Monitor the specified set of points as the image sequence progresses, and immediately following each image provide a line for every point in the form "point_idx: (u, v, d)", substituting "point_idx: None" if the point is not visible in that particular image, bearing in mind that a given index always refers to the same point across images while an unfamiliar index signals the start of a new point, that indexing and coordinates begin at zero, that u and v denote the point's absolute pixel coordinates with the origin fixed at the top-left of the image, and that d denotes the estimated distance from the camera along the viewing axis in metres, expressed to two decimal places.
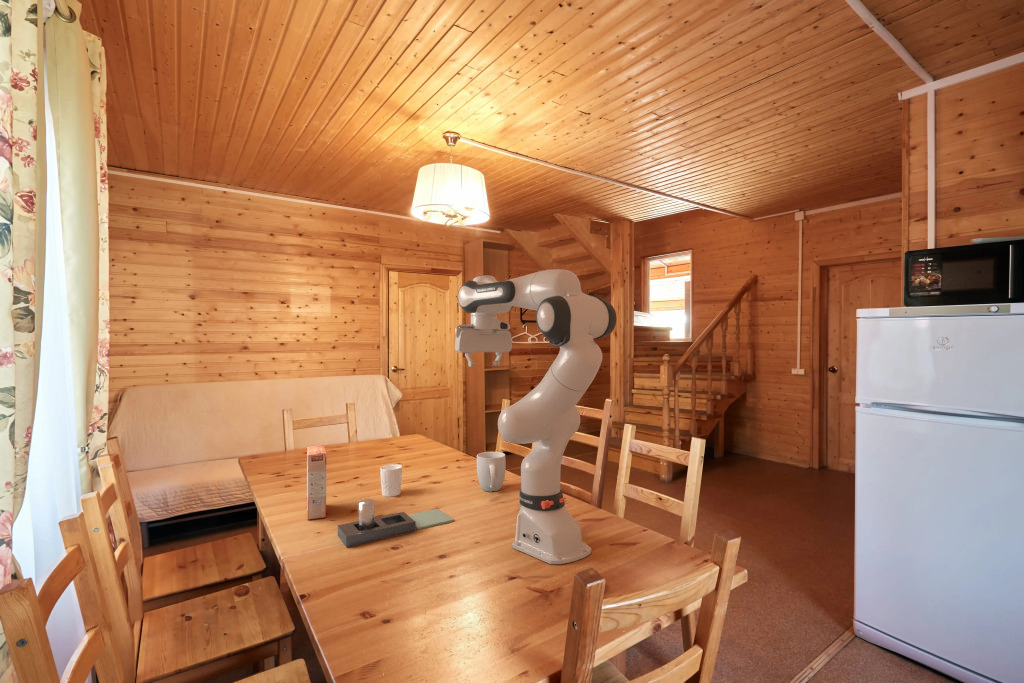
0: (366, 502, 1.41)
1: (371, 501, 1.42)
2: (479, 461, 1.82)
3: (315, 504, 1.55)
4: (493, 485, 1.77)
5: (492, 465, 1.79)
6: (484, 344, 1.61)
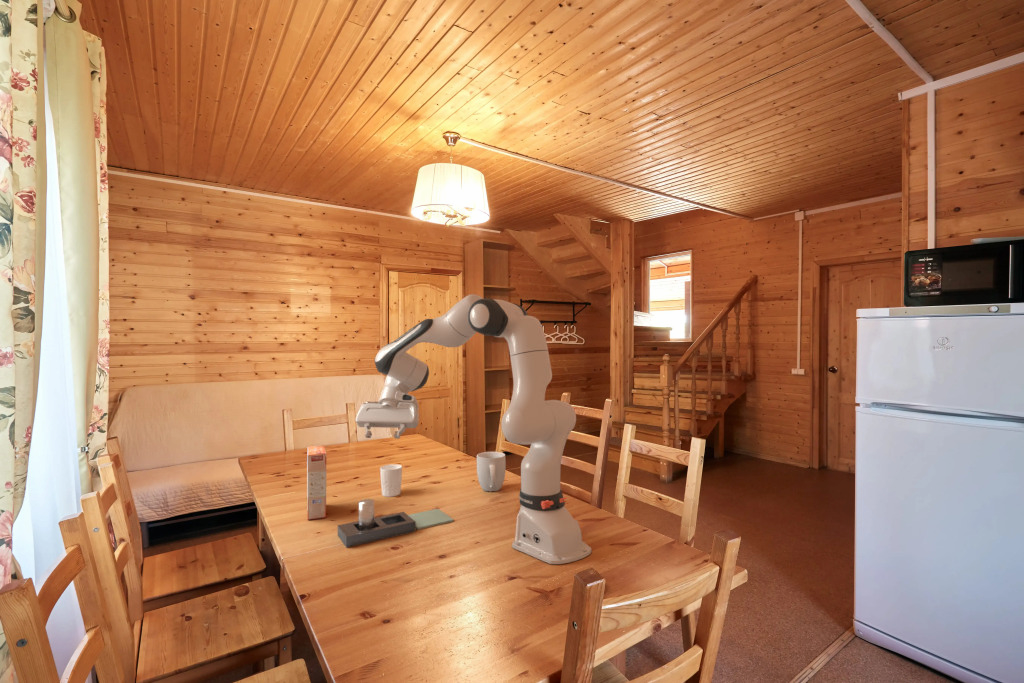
0: (366, 502, 1.41)
1: (371, 501, 1.42)
2: (479, 461, 1.82)
3: (315, 504, 1.55)
4: (493, 485, 1.77)
5: (492, 465, 1.79)
6: (383, 415, 1.58)
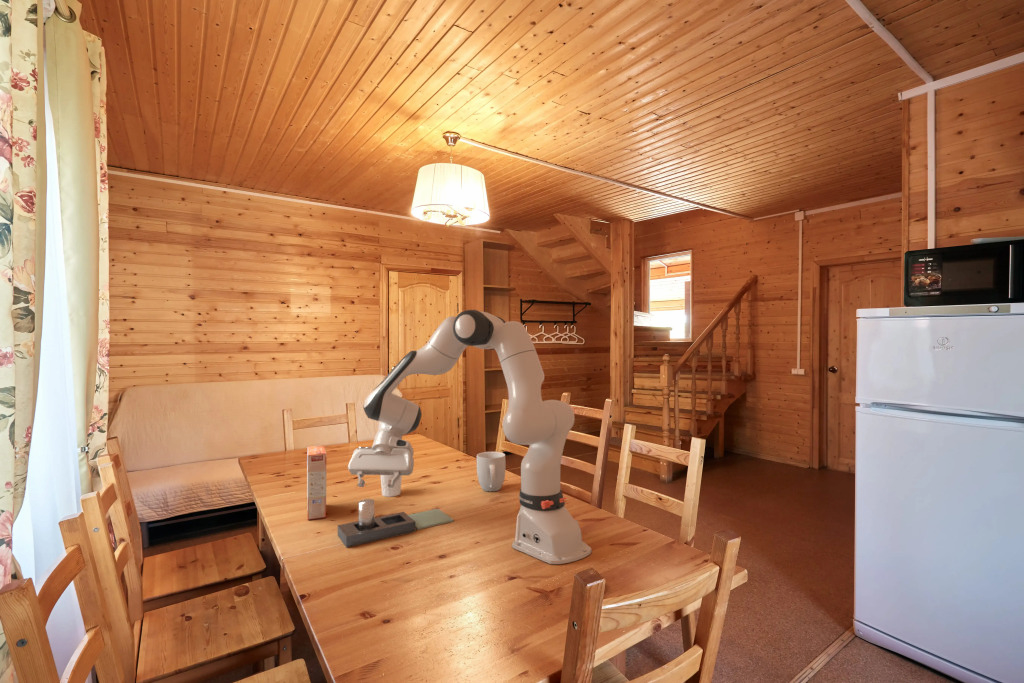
0: (366, 502, 1.41)
1: (371, 501, 1.42)
2: (479, 461, 1.82)
3: (315, 504, 1.55)
4: (493, 485, 1.77)
5: (492, 465, 1.79)
6: (377, 462, 1.53)
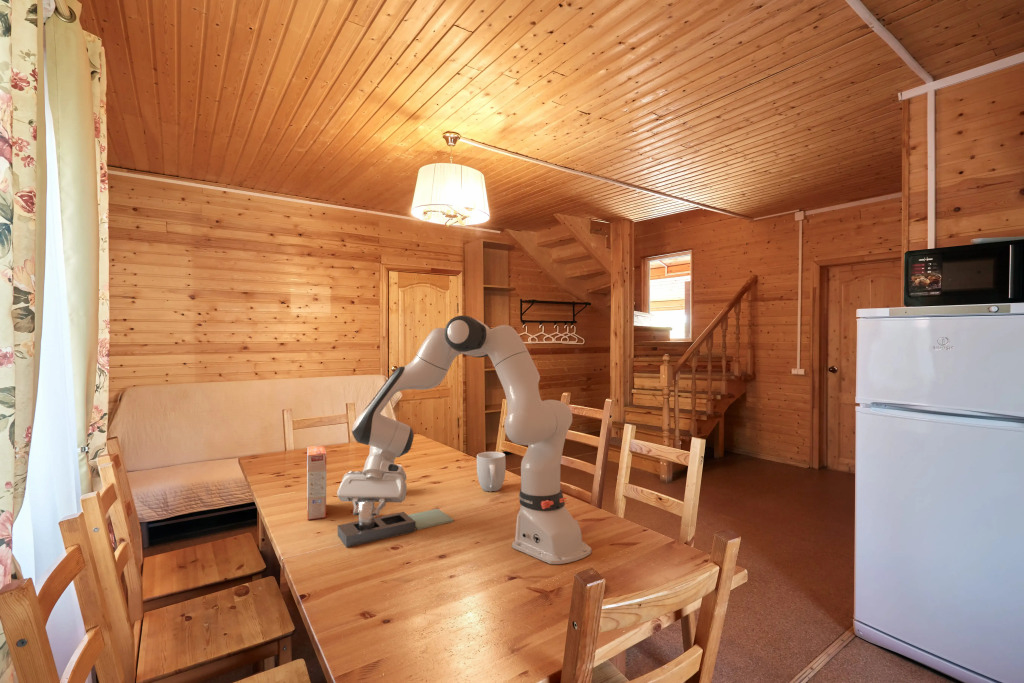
0: (366, 502, 1.41)
1: (371, 501, 1.42)
2: (479, 461, 1.82)
3: (315, 504, 1.55)
4: (493, 485, 1.77)
5: (492, 465, 1.79)
6: (367, 488, 1.45)
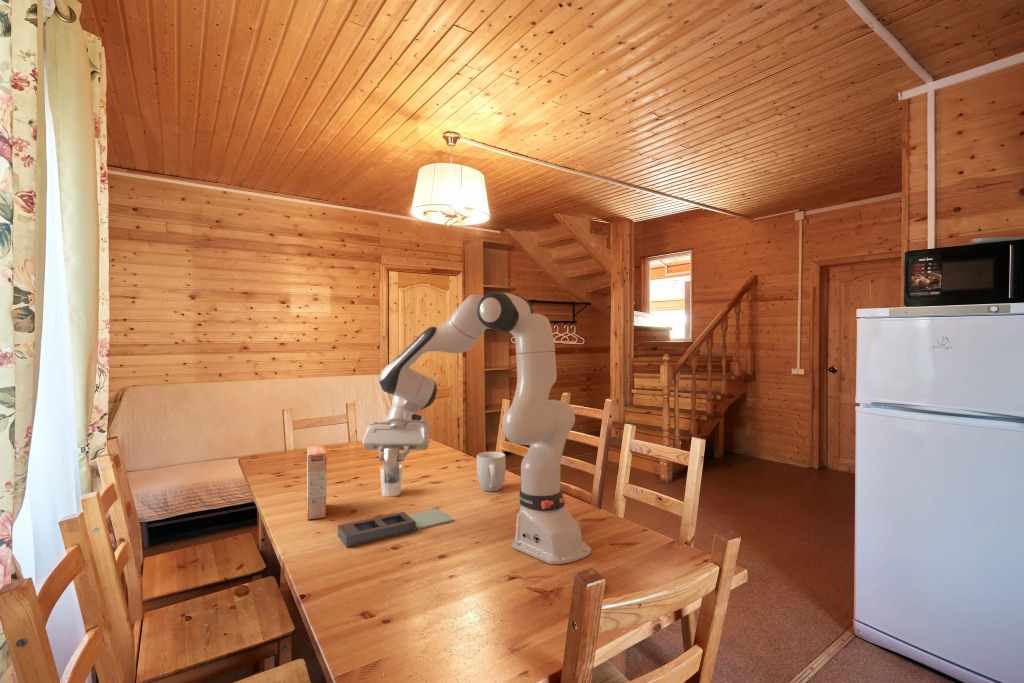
0: (392, 448, 1.45)
1: (396, 447, 1.46)
2: (479, 461, 1.82)
3: (315, 504, 1.55)
4: (493, 485, 1.77)
5: (492, 465, 1.79)
6: (392, 436, 1.50)
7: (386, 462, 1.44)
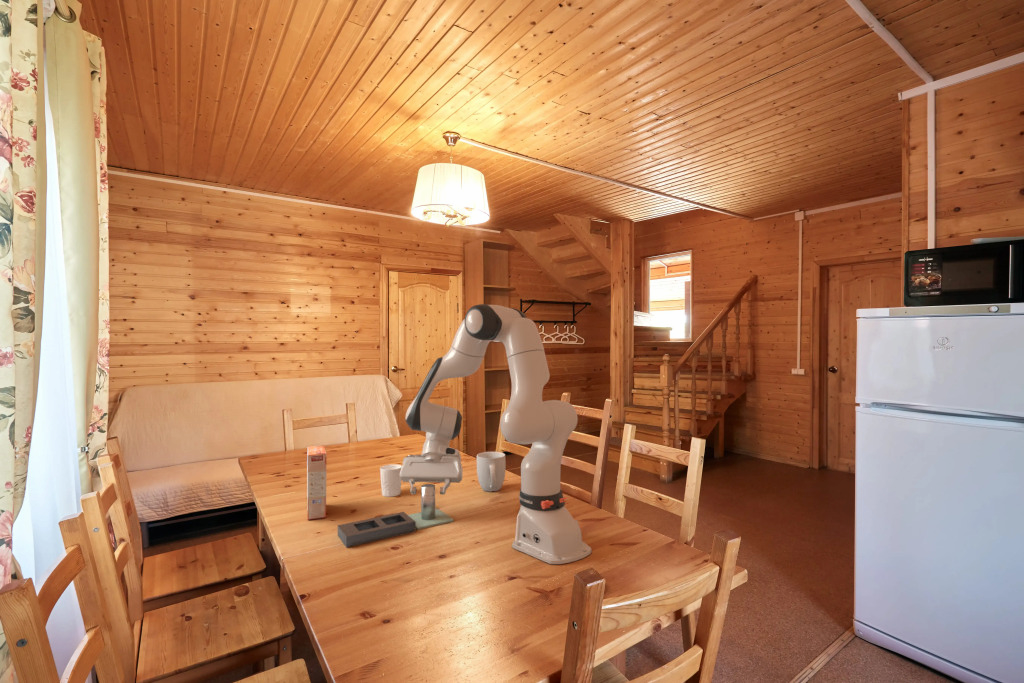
0: (428, 487, 1.53)
1: (432, 486, 1.54)
2: (479, 461, 1.82)
3: (315, 504, 1.55)
4: (493, 485, 1.77)
5: (492, 465, 1.79)
6: (428, 470, 1.58)
7: (423, 500, 1.52)
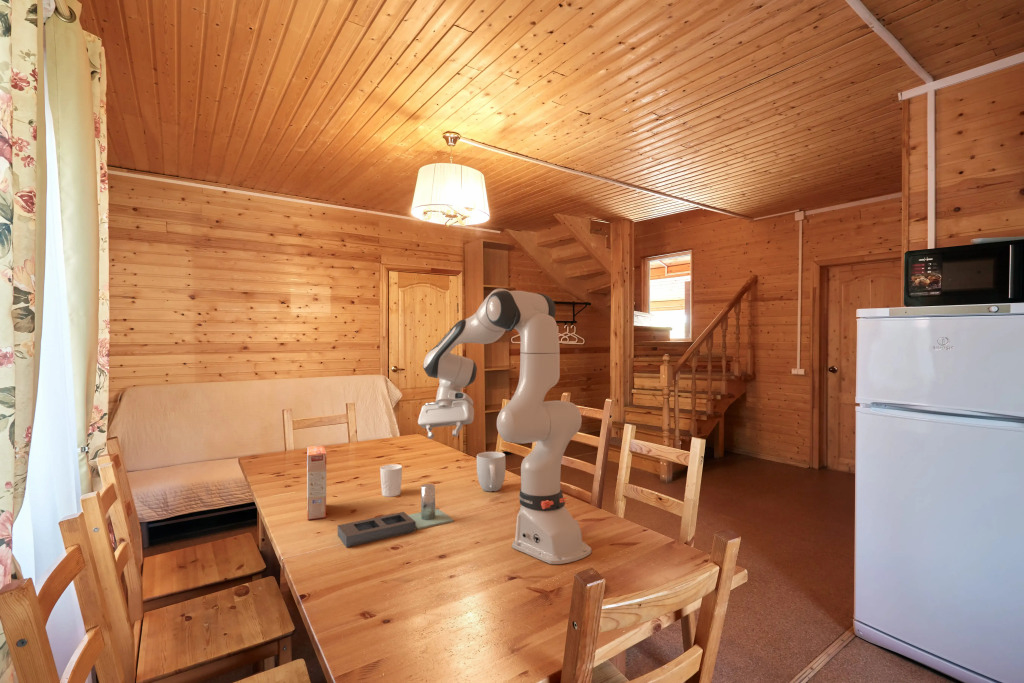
0: (428, 486, 1.53)
1: (432, 485, 1.54)
2: (479, 461, 1.82)
3: (315, 504, 1.55)
4: (493, 485, 1.77)
5: (492, 465, 1.79)
6: (441, 415, 1.68)
7: (423, 500, 1.53)
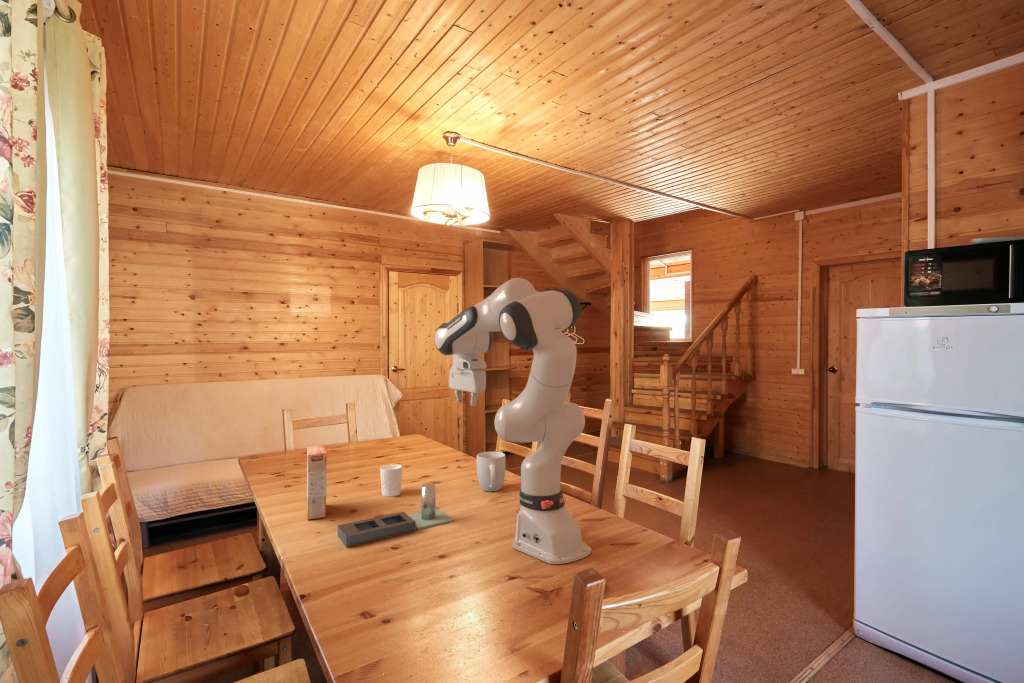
0: (429, 486, 1.53)
1: (433, 485, 1.54)
2: (479, 461, 1.82)
3: (315, 504, 1.55)
4: (493, 485, 1.77)
5: (492, 465, 1.79)
6: (460, 383, 1.64)
7: (423, 500, 1.53)
